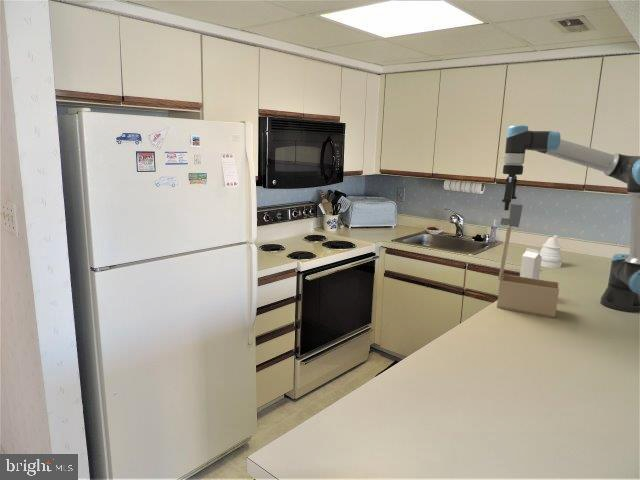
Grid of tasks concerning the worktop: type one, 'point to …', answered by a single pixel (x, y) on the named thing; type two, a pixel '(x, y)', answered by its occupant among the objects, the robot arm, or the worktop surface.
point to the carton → (528, 295)
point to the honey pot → (551, 253)
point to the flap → (512, 221)
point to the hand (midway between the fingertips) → (507, 216)
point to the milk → (531, 264)
